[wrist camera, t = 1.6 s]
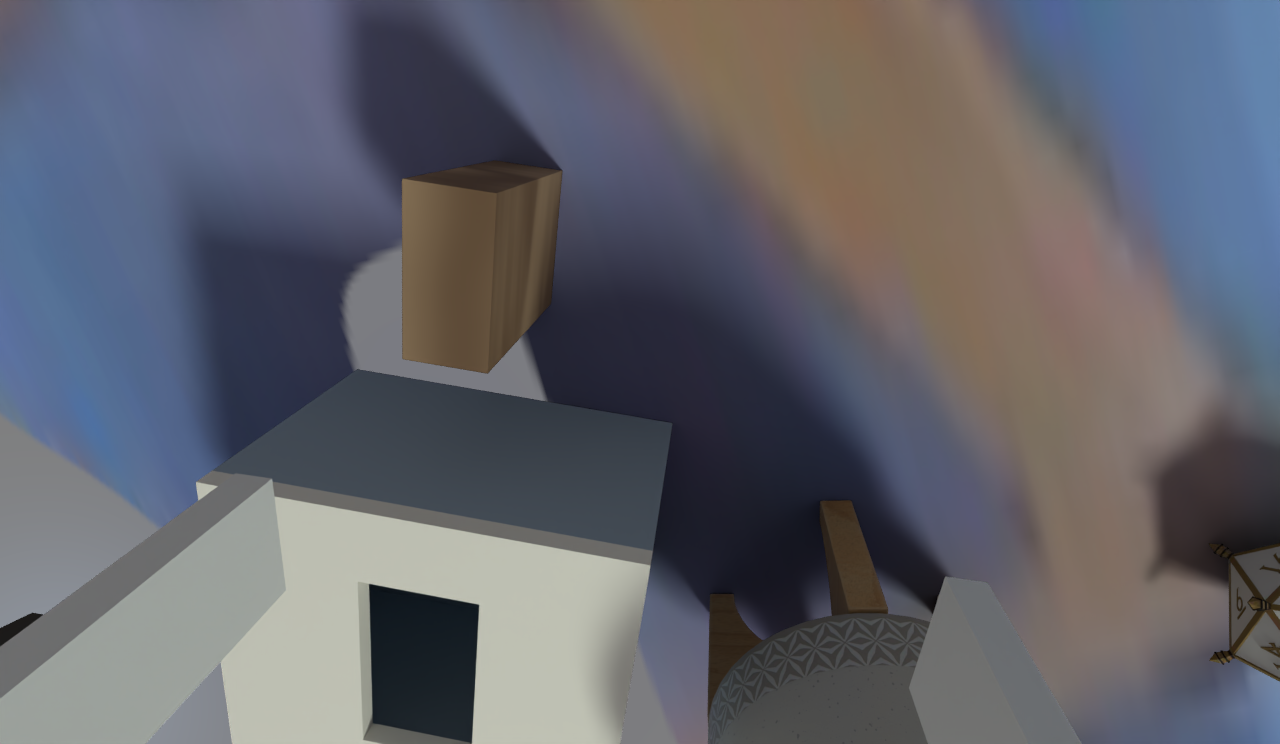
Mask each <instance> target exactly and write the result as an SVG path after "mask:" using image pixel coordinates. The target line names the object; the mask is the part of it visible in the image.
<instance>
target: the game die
mask: <svg viewBox="0 0 1280 744" xmlns="http://www.w3.org/2000/svg"><path fill="white" fill-rule="evenodd" d="M1209 545H1210V546H1211V548H1212V549H1213V551H1214V553H1215V554H1216V553H1217V554H1219V555H1220V557H1225V558H1227V559H1228V560H1229V651H1222V650H1221V652H1214V653H1215V654H1214V655H1213V656H1212V657H1211V659H1210V660H1209V661H1214V662H1218V663H1222V664H1223V665H1224V663H1225V662H1228V663H1229V662H1230V660H1231V659H1233V658H1236V659H1238V660H1239V661H1241V662H1243V663H1245V664H1247V665H1249V666H1251V667H1253V668H1255V669H1257V670H1259V671H1260V672H1262V673H1264V674H1266V675H1268V676H1270V677H1272V678H1274V679H1276V680H1278V681H1280V543H1278V544H1274V545H1269V546H1265V547H1261V548H1257V549H1252V550H1248V551H1244V552H1239V553H1235V554H1234V553H1231V552H1230V551H1229V550H1228V549H1229V548H1228V547H1227V548H1226V547H1224V546H1223V544H1221V545H1218V544H1209Z"/></svg>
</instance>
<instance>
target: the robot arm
mask: <svg viewBox="0 0 1280 744" xmlns="http://www.w3.org/2000/svg"><path fill="white" fill-rule="evenodd" d="M285 591H286V585H285V577H284V569H283V561H282V553H281V545H280V537H279V529H278V521H277V513H276V505H275V497H274V489H273V481H272V478H265V477H258V476H251V475H244V474H237V473H235V474H234V475H233V476H231V477H230V478H228V479H227V480H226V481H224V482H223V483H222V484H220V485H219V486H218V487H216V488H215V489H214V490H212V491H211V492H209V493H208V494H207V495H205V496H204V497H203V498H201V499H200V500H199V501H197V502H196V503H195V504H193V505H192V506H190V507H189V508H188V509H186V510H185V511H184V512H182V513H181V514H180V515H178V516H177V517H176V518H174V519H173V520H171V521H170V522H169V523H167V524H166V525H165V526H163V527H162V528H161V529H159V530H158V531H157V532H155V533H154V534H152V535H151V536H150V537H148V538H147V539H146V540H145V541H143V542H142V543H141V544H139V545H138V546H136V547H135V548H133V549H132V550H131V551H129V552H128V553H127V554H126V555H124V556H123V557H121V558H120V559H119V560H117V561H116V562H115V563H113V564H112V565H110V566H109V567H108V568H107V569H105V570H104V571H102V572H101V573H100V574H98V575H97V576H95V577H94V578H93V579H91V580H90V581H89V582H87V583H86V584H85V585H83V586H82V587H81V588H79V589H78V590H76V591H75V592H74V593H72V594H71V595H70V596H68V597H67V598H66V599H64V600H63V601H62V602H60V603H59V604H57V605H56V606H55V607H53V608H52V609H51V610H49V611H48V612H47V613H45V614H44V615H43V614H36V613H31V614H29V615H27V616H25V617H23V618H20V619H18V620H16V621H14V622H12V623H10V624H8V625H6V626H4V627H1V628H0V744H146V743H147V742H148V741H149V739H151V737H152V736H153V735H154V734H155V733H156V732H157V731H158V730H159V729H160V728H161V727H162V725H163V724H164V723H165V722H166V721H167V720H168V719H169V718H170V717H171V716H172V714H173V713H174V712H175V711H176V710H177V709H178V708H179V707H180V706H181V705H182V703H183V702H184V701H185V700H186V699H187V698H188V697H189V696H190V695H191V694H192V693H193V692H194V690H195V689H196V688H197V687H198V686H199V685H200V684H201V683H202V682H203V681H204V679H205V678H206V677H207V676H208V675H209V674H210V673H211V672H212V671H213V669H214V668H215V667H216V666H217V665H218V664H219V663H220V662H221V661H222V660H223V659H224V658H225V656H226V655H227V654H228V653H229V652H230V651H231V650H232V649H233V648H234V647H235V646H236V644H237V643H238V642H239V641H240V640H241V639H242V638H243V637H244V636H245V635H246V633H247V632H248V631H249V630H250V629H251V628H252V627H253V626H254V625H255V624H256V623H257V621H258V620H259V619H260V618H261V617H262V616H263V615H264V614H265V613H266V612H267V610H268V609H269V608H270V607H271V606H272V605H273V604H274V603H275V602H276V601H277V600H278V598H279V597H280V596H281V595H282V594H283V593H284V592H285ZM909 689H910V692H911V695H912V698H913V701H914V704H915V707H916V710H917V713H918V716H919V719H920V722H921V725H922V728H923V731H924V734H925V737H926V740H927V743H928V744H1081V742H1080V740H1079V738H1078V737H1077V735H1076V733H1075V732H1074V730H1073V728H1072V726H1071V725H1070V723H1069V721H1068V720H1067V718H1066V716H1065V714H1064V713H1063V711H1062V709H1061V708H1060V706H1059V704H1058V702H1057V701H1056V699H1055V697H1054V696H1053V694H1052V692H1051V690H1050V689H1049V687H1048V685H1047V684H1046V682H1045V680H1044V679H1043V677H1042V675H1041V673H1040V672H1039V670H1038V668H1037V667H1036V665H1035V663H1034V661H1033V660H1032V658H1031V656H1030V655H1029V653H1028V651H1027V649H1026V648H1025V646H1024V644H1023V643H1022V641H1021V639H1020V637H1019V636H1018V634H1017V632H1016V631H1015V629H1014V627H1013V625H1012V624H1011V622H1010V620H1009V619H1008V617H1007V615H1006V614H1005V612H1004V610H1003V608H1002V607H1001V605H1000V603H999V602H998V600H997V598H996V596H995V595H994V593H993V591H992V590H991V588H990V586H989V584H988V583H987V582H980V581H973V580H966V579H960V578H953V577H946V576H945V579H944V582H943V585H942V588H941V591H940V594H939V597H938V600H937V603H936V606H935V609H934V612H933V615H932V618H931V622H930V625H929V628H928V631H927V634H926V637H925V640H924V643H923V646H922V649H921V652H920V655H919V658H918V661H917V664H916V668H915V671H914V674H913V677H912V680H911V683H910V686H909Z"/></svg>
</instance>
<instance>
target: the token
mask: <svg viewBox="0 0 1280 744" xmlns="http://www.w3.org/2000/svg"><path fill="white" fill-rule="evenodd" d="M561 181H562V171H561V170H555V169H548V168H542V167H535V166H528V165H522V164H515V163H508V162H502V161H490V162H484V163H479V164H474V165H469V166H464V167H459V168H454V169H449V170H444V171H439V172H434V173H429V174H424V175H419V176H414V177H409V178H403V179H402V332H403V333H402V342H403V343H402V345H403V348H402V352H403V353H402V354H403V355H402V358H403V359H405V360H411V361H417V362H423V363H428V364H434V365H440V366H446V367H452V368H458V369H464V370H470V371H476V372H481V373H489V372H490V370H491V369H492V368H493V367H494V366H495V365H496V364H497V363H498V362H499V360H500V359H501V358H502V357H503V356H504V355H505V354H506V353H507V351H508V350H509V349H510V348H511V347H512V346H513V345H514V344H515V343H516V342H517V341H518V340H519V338H520V337H521V336H522V335H523V334H524V333H525V332H526V331H527V330H528V329H529V327H530V326H531V325H532V324H533V323H534V322H535V321H536V320H537V319H538V317H539V316H540V315H541V314H542V313H543V312H544V311H545V310H546V309H547V308H548V306H549V305H550V304H551V298H552V286H553V275H554V263H555V251H556V240H557V228H558V216H559V205H560V193H561Z"/></svg>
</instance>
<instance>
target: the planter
mask: <svg viewBox="0 0 1280 744" xmlns="http://www.w3.org/2000/svg"><path fill="white" fill-rule="evenodd" d="M820 526H821V530H822V535H823V541H824V548H825V554H826V562H827V569H828V578H829V588H830V599H831V611H832V616H828V617H824V618H819V619H815V620H811V621H806V622H804V623H801V624H798V625H795V626H793V627H790V628H787V629H784V630H782V631H780V632H778V633H777V634H775V635H773V636H771V637H769V638H767V639H765V640H761V639H760V638H759V637H757V636H756V635H755V634H754V633H753V632H752V631H751V630H750V629H749V628H748V627H747V625H746V624H745V623H744V621H743V620H742V618H741V617H740V615H739V613H738V611H737V609H736V606H735V601H734V594H710V619H709V668H708V744H928V743H927V740H926V737H925V734H924V731H923V728H922V725H921V722H920V719H919V716H918V713H917V710H916V707H915V704H914V701H913V698H912V695H911V692H910V689H909V686H910V683H911V680H912V677H913V674H914V671H915V668H916V664H917V661H918V658H919V655H920V652H921V649H922V646H923V643H924V640H925V637H926V634H927V631H928V628H929V625H930V622H928V621H924V620H920V619H916V618H912V617H907V616H899V615H891V614H888V607H887V604H886V601H885V598H884V595H883V592H882V589H881V586H880V583H879V581H878V578H877V575H876V572H875V569H874V566H873V563H872V560H871V557H870V554H869V551H868V548H867V545H866V542H865V540H864V537H863V534H862V531H861V528H860V525H859V522H858V519H857V516H856V513H855V510H854V507H853V504H852V502H851V501H850V500H842V501H820ZM938 597H939V595H938ZM938 597H937V600H938Z"/></svg>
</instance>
